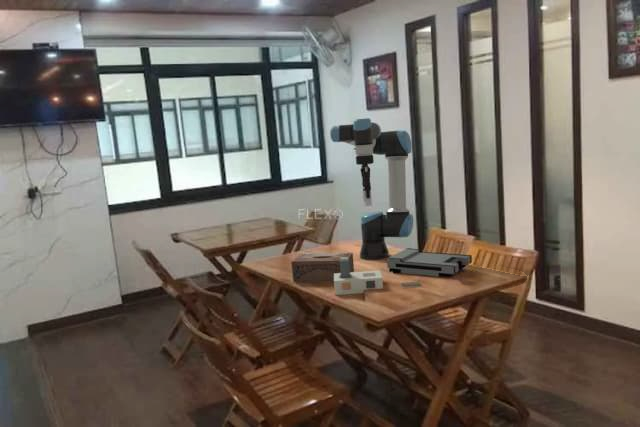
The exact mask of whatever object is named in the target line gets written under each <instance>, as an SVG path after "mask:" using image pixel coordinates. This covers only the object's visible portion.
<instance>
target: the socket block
mask: <svg viewBox="0 0 640 427" xmlns="http://www.w3.org/2000/svg"><path fill="white" fill-rule="evenodd" d="M383 282H384V281H383V275H382V272H381V270H380V269H379V270H365V271H354V272H350V278H341V273H335V274H334V282H333V286H334V295H335V296H340V295H355V294H356V295H357V294H365V290H379V289H381V290H382V289H384V285H383V284H384V283H383Z"/></svg>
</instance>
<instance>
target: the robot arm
mask: <svg viewBox="0 0 640 427" xmlns="http://www.w3.org/2000/svg"><path fill="white" fill-rule="evenodd" d="M381 129H382V128H381V127H380V125H379V124H378V123H376V122H372V119H371V118H369V117H367V118H356V119H354V120H353V123H352V124H338V125H333V126H331V128H330V131H329V132H330V133H329V134H330V135H329V136H330V139H331V141H332V142H333V143H345V144H348V145H351V146H354V148H353V151H355V155H356V156H355V163H356V165H358V166H359V165H361V166H360V167H361V168H360V173H361V174H360V175H361V180H362V182H361V184H362V195H363V196H362V198H363V202H364V203H365V204H364V205H365V207H370V206H371V207H372V206H373V204H372V203H373V202H372V200H373V199H372V187H371V168H370V166H369V165H372V164H374V162H375V161H374V155H377V156H381V155H382V156H383V155H384V158H385V160H386V161H387V167H388V168H387V169H388V172H387V173H388V206H389V207H388V209H386V212H385V213H386V214H384V212H383V211H373V212H369V213H364V214H363V215H362V216H360V220H361V222H360V225H361V227H360V228H361V240H362V242H361V243H362V244H361V248H360V251H359V257H360V259H362V260H368V261H370V260H371V261H372V260H373V261H374V260H375V261H376V260H382V259H383V260H384V259H387V258H389V257H390V252H389V249H388V246H387V244H386V241H385V238H408V237H410V235H411V234H412V232H413V227H414V216H413V215H412V214H411V213H410V209H408V208H407V192H406V191H407V190H406V189H407V187H406V186H407V184H406V180H407V178H406V177H407V176H406V160H407V159H408V158H409V154H411V153H412V152H413V151H412V149H413V148H412V146H413V145H412V141H411V140H412V139H411V137H410V134H409V132H408V131H406V130H391V131H382V130H381Z"/></svg>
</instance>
